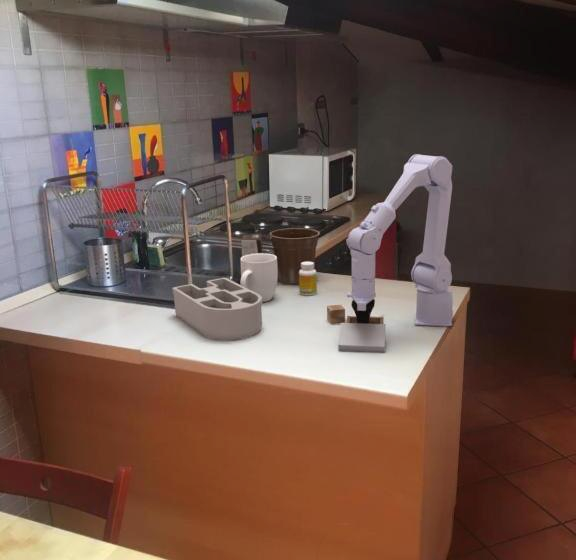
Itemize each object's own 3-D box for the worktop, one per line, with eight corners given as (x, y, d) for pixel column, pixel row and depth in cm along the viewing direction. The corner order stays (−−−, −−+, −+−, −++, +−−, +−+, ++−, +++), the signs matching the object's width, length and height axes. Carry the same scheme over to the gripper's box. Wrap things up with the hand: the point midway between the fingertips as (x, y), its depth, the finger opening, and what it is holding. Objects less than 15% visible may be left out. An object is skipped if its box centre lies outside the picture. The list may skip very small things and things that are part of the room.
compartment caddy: (226, 305, 190) (225, 277, 187) (274, 332, 167) (273, 301, 164) (174, 316, 181) (171, 287, 179) (217, 347, 158) (215, 314, 156)
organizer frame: (383, 323, 170) (383, 316, 169) (382, 343, 157) (382, 335, 156) (347, 322, 171) (347, 315, 171) (343, 341, 158) (343, 334, 158)
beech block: (341, 318, 175) (341, 304, 174) (345, 323, 171) (345, 309, 170) (327, 319, 174) (326, 305, 173) (330, 324, 171) (330, 310, 170)
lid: (385, 329, 158) (385, 324, 157) (384, 352, 152) (384, 346, 150) (341, 328, 160) (340, 322, 159) (338, 350, 153) (338, 344, 152)
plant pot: (318, 272, 220) (317, 226, 215) (322, 286, 204) (321, 237, 199) (271, 274, 219) (269, 228, 215) (271, 288, 204) (269, 239, 199)
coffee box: (263, 288, 204) (260, 239, 199) (242, 288, 204) (240, 239, 199) (264, 280, 212) (262, 233, 208) (245, 280, 213) (242, 233, 208)
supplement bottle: (315, 296, 194) (314, 265, 192) (298, 295, 195) (297, 265, 193) (318, 290, 199) (317, 260, 197) (301, 290, 200) (300, 260, 198)
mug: (259, 311, 183) (257, 267, 179) (227, 305, 188) (225, 263, 184) (285, 296, 195) (283, 255, 191) (254, 292, 200) (253, 251, 197)
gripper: (349, 268, 163) (349, 318, 167) (344, 284, 149) (344, 338, 153) (376, 268, 162) (376, 318, 166) (374, 285, 148) (374, 339, 152)
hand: (363, 328), depth 159 cm, fingers closed
